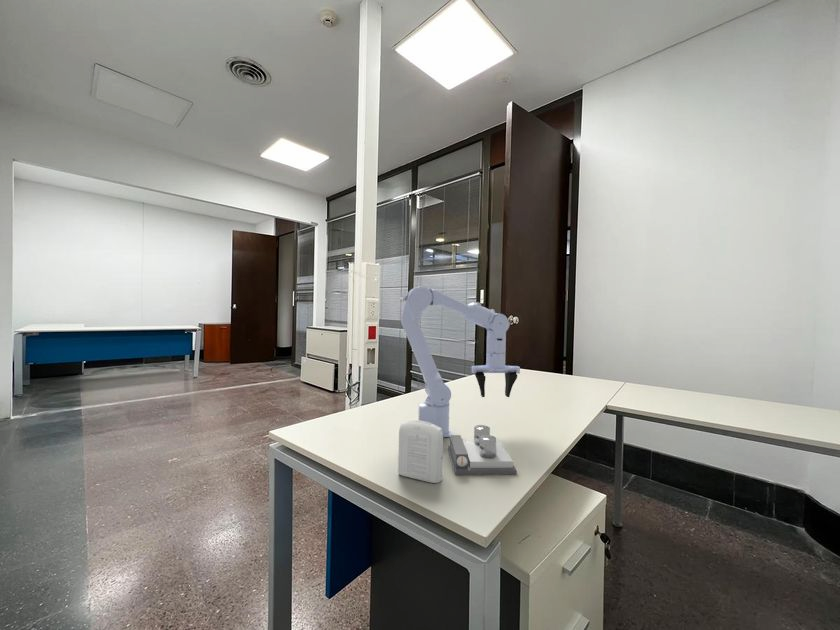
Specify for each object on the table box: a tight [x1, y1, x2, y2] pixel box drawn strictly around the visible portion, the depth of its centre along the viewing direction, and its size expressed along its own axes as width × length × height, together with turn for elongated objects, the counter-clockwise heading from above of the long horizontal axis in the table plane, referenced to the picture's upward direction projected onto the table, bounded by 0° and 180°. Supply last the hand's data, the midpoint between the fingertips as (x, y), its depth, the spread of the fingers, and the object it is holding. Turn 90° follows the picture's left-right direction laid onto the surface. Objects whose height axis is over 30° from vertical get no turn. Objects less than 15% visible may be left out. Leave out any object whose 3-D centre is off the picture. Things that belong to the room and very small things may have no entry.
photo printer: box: [397, 419, 444, 484], centre depth 73 cm, size 10×4×12 cm, turn 69°
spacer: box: [479, 434, 497, 459], centre depth 78 cm, size 4×4×4 cm
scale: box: [447, 434, 518, 476], centre depth 81 cm, size 14×13×4 cm
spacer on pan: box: [473, 424, 491, 446], centre depth 85 cm, size 4×4×4 cm
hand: (495, 396), depth 101 cm, fingers open, 7 cm apart
